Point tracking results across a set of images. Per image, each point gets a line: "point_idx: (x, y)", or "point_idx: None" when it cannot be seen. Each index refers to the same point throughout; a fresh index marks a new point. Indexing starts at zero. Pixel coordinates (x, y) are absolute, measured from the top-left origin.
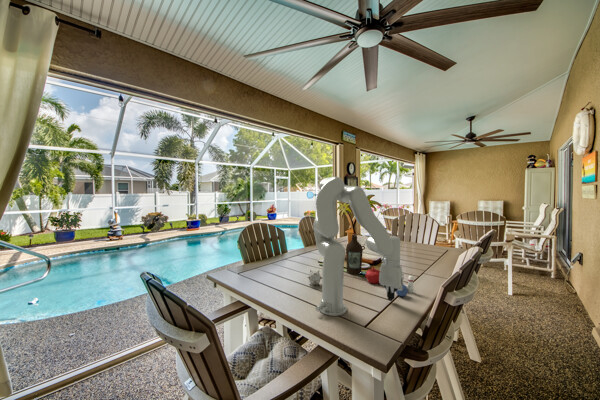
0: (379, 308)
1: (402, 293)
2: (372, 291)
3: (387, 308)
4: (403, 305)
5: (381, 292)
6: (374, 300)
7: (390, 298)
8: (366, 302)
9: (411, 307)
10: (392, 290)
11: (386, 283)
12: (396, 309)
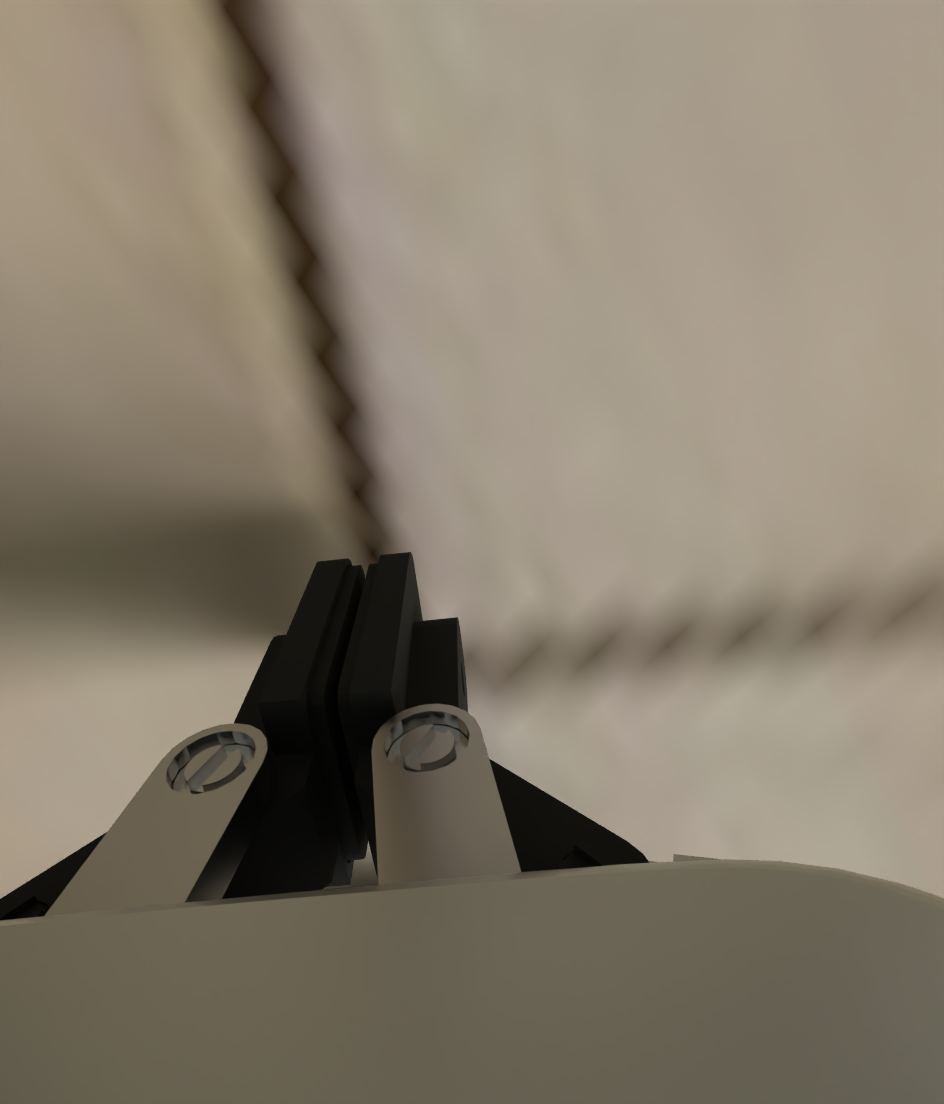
0: (366, 11)
1: None
2: (937, 724)
3: (233, 236)
4: (144, 672)
5: (760, 810)
6: (721, 374)
7: (319, 585)
8: (862, 37)
9: (4, 714)
10: (177, 812)
11: (312, 1077)
12: (77, 387)
